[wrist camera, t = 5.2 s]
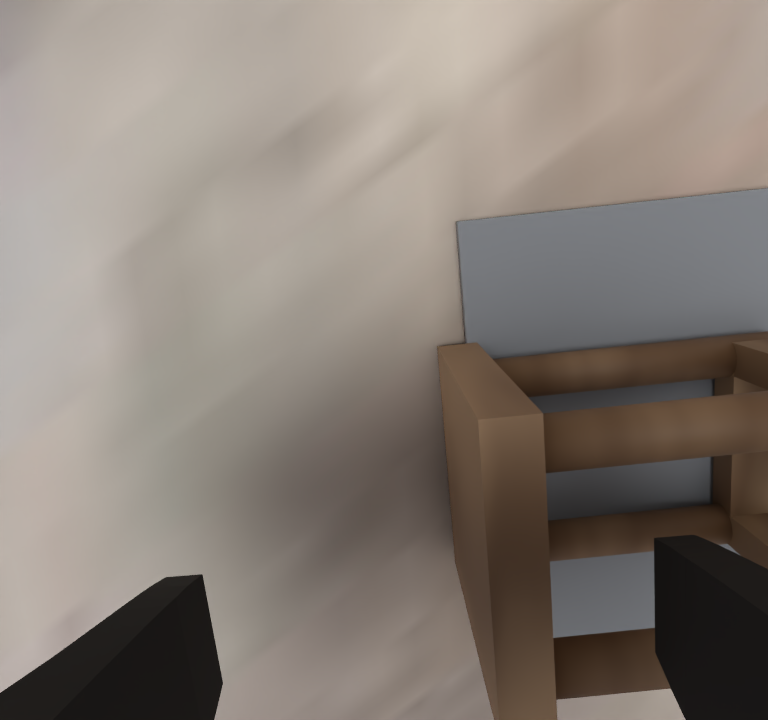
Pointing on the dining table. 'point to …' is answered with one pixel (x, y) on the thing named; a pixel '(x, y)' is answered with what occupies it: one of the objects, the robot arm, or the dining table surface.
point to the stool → (594, 533)
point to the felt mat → (612, 329)
